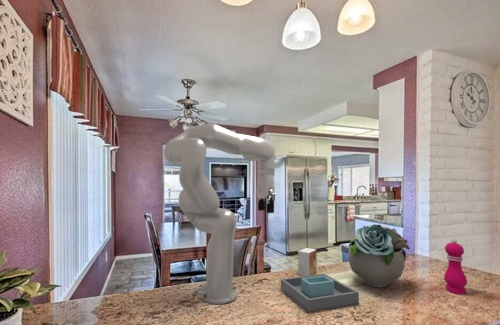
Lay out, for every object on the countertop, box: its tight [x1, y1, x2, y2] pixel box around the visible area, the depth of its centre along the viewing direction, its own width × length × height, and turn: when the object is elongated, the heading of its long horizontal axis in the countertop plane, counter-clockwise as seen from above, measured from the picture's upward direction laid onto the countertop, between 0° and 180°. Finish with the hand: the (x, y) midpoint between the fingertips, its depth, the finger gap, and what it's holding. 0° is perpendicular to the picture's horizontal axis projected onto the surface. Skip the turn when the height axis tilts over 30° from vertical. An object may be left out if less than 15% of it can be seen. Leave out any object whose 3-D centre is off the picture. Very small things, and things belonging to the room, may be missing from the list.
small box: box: [297, 247, 317, 276], centre depth 128 cm, size 8×6×10 cm
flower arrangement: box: [347, 224, 411, 288], centre depth 116 cm, size 25×25×24 cm
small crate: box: [301, 276, 334, 298], centre depth 102 cm, size 10×6×5 cm, turn 110°
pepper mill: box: [443, 238, 468, 295], centre depth 109 cm, size 7×7×20 cm
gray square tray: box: [280, 273, 360, 314], centre depth 102 cm, size 20×20×4 cm
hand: (265, 211), depth 124 cm, fingers open, 9 cm apart
